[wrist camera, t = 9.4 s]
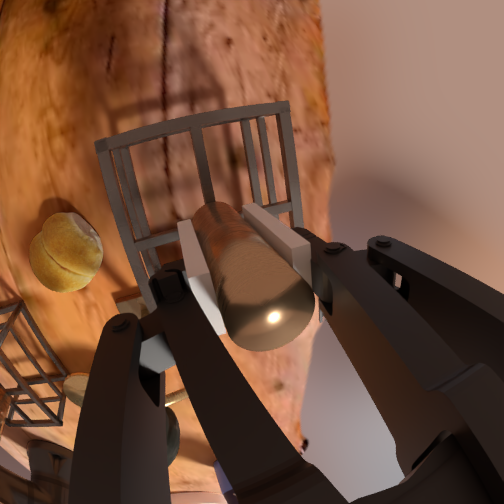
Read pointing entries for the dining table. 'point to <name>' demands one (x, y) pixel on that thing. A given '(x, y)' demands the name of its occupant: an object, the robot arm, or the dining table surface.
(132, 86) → the dining table surface
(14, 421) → the metal bar cube frame
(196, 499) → the ring with crossbar
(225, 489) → the water bottle
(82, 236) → the bread roll
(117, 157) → the wire frame cage
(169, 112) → the dining table surface
